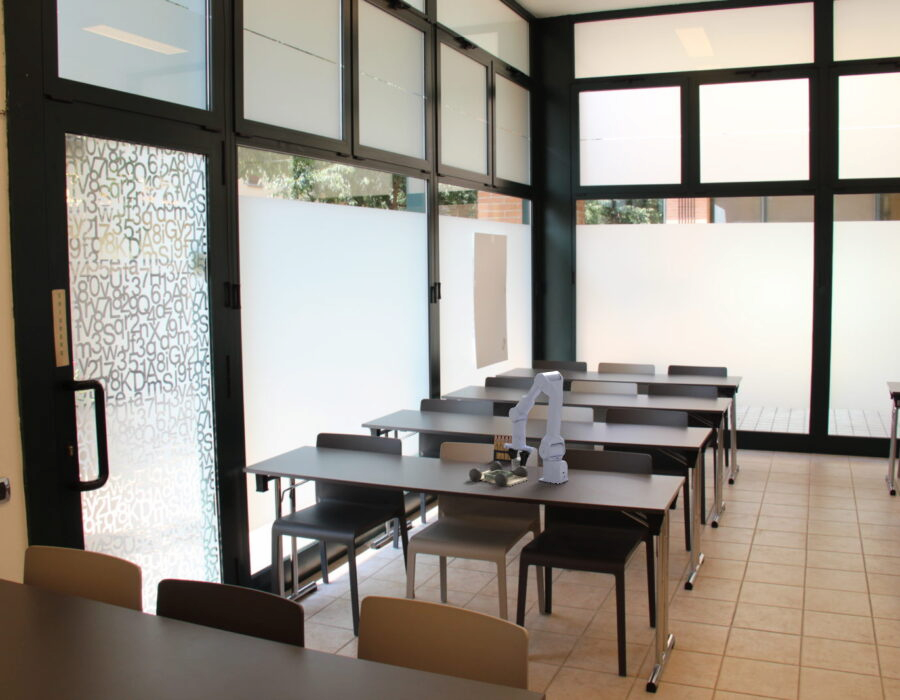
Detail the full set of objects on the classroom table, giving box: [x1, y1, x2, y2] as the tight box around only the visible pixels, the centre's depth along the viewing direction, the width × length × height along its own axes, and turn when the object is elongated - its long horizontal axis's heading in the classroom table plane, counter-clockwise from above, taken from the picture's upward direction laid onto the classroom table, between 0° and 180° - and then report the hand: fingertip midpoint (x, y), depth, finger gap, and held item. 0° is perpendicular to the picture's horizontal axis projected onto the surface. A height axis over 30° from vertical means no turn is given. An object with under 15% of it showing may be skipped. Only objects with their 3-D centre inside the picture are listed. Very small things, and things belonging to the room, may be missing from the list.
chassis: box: [468, 461, 529, 487], centre depth 347 cm, size 20×16×5 cm
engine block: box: [511, 456, 521, 472], centre depth 361 cm, size 4×5×5 cm
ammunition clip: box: [492, 433, 512, 464], centre depth 377 cm, size 11×2×12 cm, turn 61°
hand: (518, 467), depth 361 cm, fingers closed on engine block, 4 cm apart
